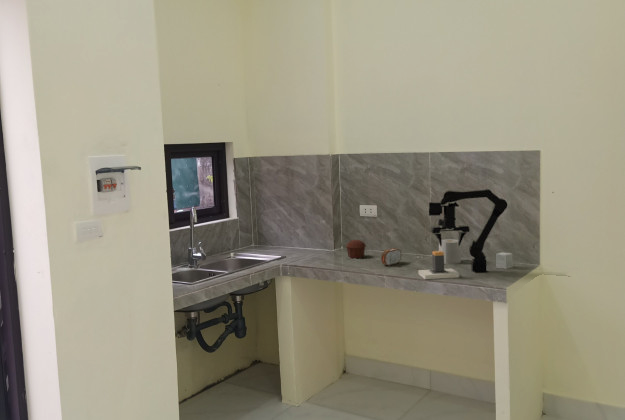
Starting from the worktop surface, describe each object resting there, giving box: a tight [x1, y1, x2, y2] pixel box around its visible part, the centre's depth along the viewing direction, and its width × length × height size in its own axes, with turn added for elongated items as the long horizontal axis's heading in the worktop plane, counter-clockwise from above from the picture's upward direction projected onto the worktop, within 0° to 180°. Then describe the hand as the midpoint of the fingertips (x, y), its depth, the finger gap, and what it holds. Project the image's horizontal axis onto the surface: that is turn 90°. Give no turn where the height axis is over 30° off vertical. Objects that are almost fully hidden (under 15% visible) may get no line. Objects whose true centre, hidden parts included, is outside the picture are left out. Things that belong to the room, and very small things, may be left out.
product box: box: [495, 251, 514, 270], centre depth 326 cm, size 6×6×7 cm
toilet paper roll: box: [438, 238, 462, 265], centre depth 346 cm, size 12×12×12 cm
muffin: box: [345, 239, 367, 259], centre depth 371 cm, size 12×11×10 cm
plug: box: [432, 250, 445, 273], centre depth 312 cm, size 4×4×12 cm
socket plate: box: [418, 268, 460, 280], centre depth 313 cm, size 17×12×2 cm
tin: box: [380, 247, 402, 266], centre depth 346 cm, size 15×3×8 cm, turn 134°
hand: (449, 246), depth 320 cm, fingers open, 9 cm apart
